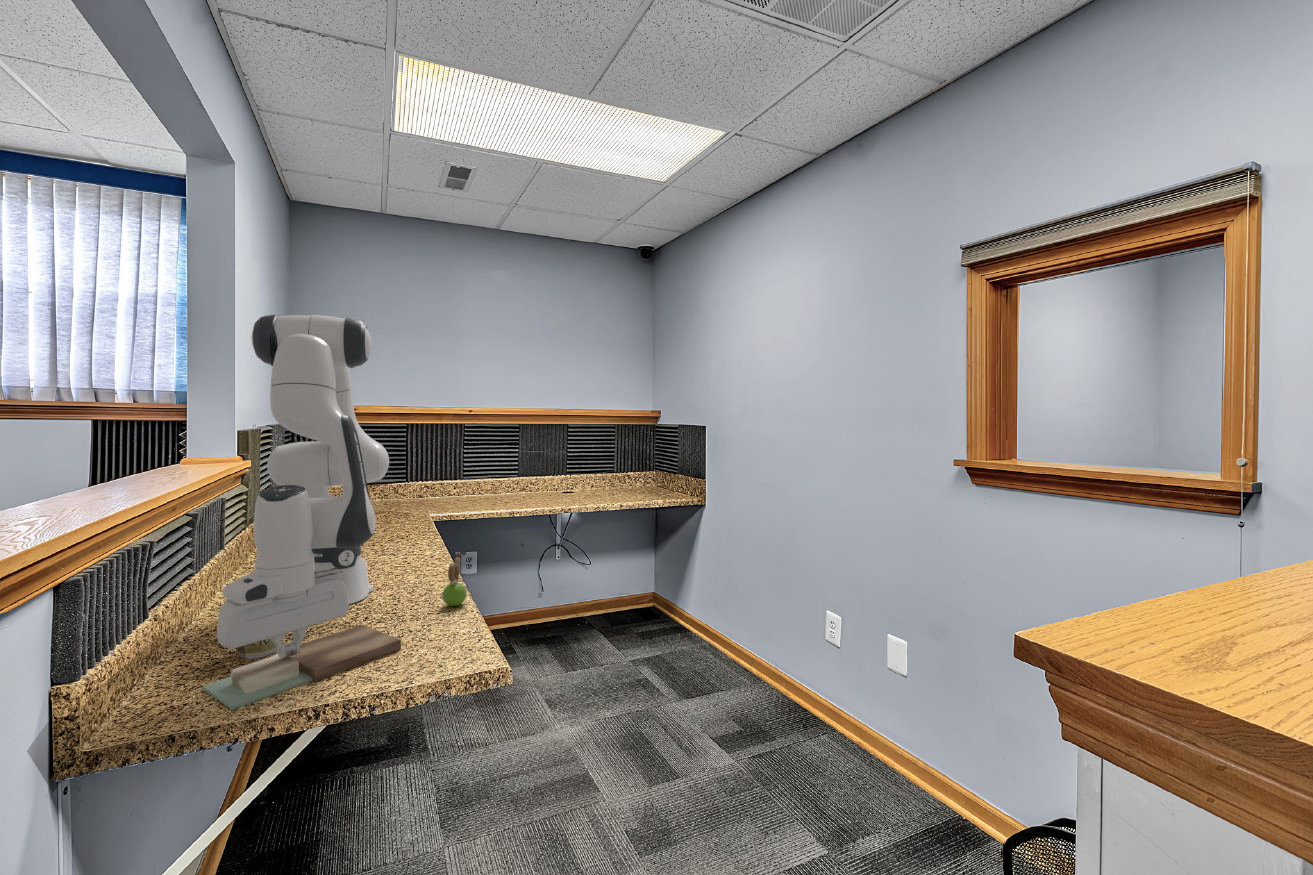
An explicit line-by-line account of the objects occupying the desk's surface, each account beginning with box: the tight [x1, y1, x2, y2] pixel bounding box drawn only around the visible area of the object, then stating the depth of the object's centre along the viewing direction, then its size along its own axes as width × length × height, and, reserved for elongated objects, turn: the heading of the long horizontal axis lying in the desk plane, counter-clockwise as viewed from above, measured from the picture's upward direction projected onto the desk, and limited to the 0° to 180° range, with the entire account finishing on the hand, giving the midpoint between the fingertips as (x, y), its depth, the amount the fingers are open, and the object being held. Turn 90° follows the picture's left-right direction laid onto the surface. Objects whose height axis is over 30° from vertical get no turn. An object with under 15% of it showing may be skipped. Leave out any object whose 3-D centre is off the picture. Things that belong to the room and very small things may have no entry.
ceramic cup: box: [236, 638, 283, 660], centre depth 115 cm, size 13×10×10 cm
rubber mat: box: [202, 671, 313, 711], centre depth 100 cm, size 12×12×1 cm
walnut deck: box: [289, 624, 402, 682], centre depth 112 cm, size 14×16×2 cm
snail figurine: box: [441, 551, 467, 607], centre depth 140 cm, size 5×6×12 cm
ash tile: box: [230, 654, 299, 694], centre depth 101 cm, size 6×8×2 cm
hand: (289, 655), depth 104 cm, fingers closed
